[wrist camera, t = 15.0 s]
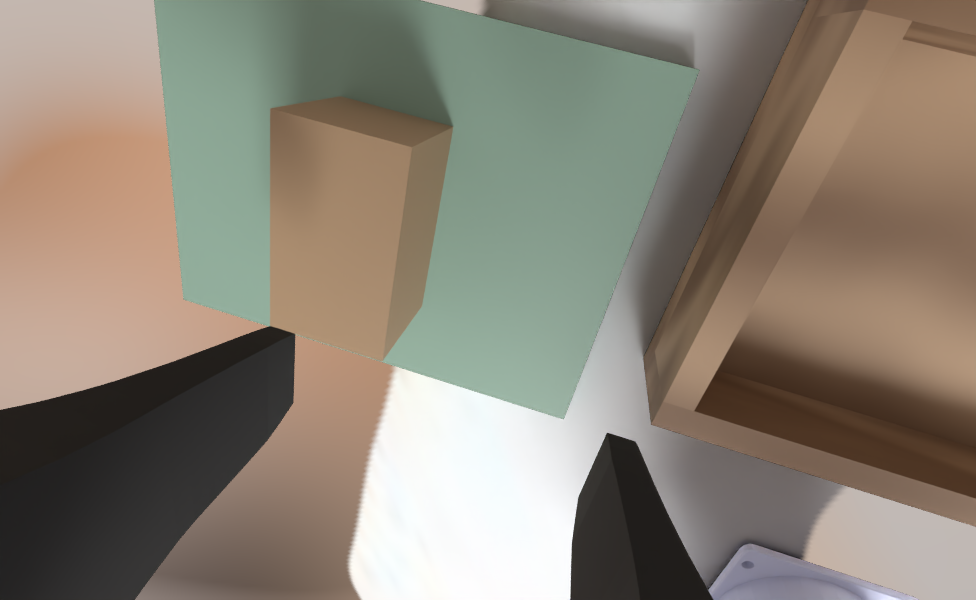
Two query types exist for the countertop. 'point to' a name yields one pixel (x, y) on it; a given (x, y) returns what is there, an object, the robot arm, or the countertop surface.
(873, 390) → the wooden box
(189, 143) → the lid
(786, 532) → the countertop surface
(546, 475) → the countertop surface
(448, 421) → the countertop surface
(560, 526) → the countertop surface
